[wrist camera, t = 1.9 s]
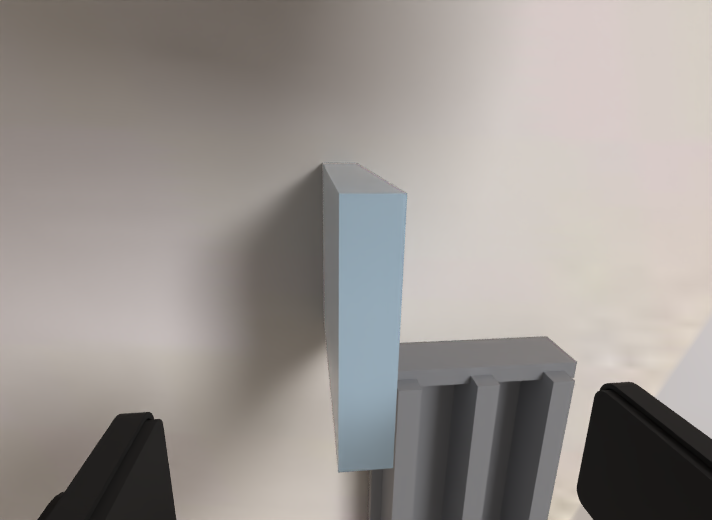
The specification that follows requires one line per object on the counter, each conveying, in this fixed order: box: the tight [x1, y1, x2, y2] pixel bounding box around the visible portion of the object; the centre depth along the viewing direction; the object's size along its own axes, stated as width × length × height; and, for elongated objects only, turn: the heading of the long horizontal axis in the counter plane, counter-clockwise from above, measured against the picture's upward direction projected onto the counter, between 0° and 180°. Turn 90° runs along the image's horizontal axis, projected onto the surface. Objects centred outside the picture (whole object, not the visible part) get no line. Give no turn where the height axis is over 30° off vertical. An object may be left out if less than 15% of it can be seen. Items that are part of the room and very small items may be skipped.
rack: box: [368, 337, 577, 520], centre depth 26 cm, size 18×11×4 cm, turn 0°
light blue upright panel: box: [322, 163, 407, 473], centre depth 17 cm, size 9×2×11 cm, turn 0°
